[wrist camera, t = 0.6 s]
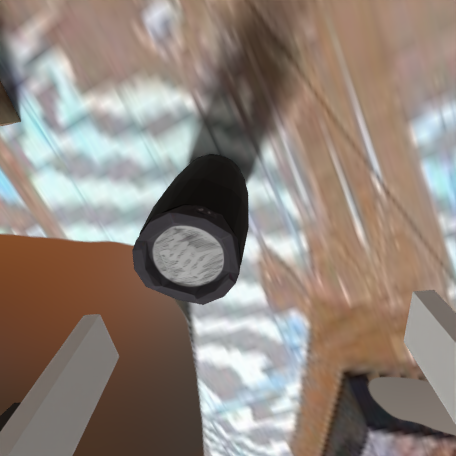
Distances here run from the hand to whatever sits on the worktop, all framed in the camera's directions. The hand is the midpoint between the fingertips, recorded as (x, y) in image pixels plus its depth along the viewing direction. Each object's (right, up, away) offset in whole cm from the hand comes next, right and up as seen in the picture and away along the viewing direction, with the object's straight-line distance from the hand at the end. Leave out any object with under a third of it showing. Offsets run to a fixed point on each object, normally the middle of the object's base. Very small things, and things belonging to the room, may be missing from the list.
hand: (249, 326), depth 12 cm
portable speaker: (-3, +10, +25) cm, 27 cm away
